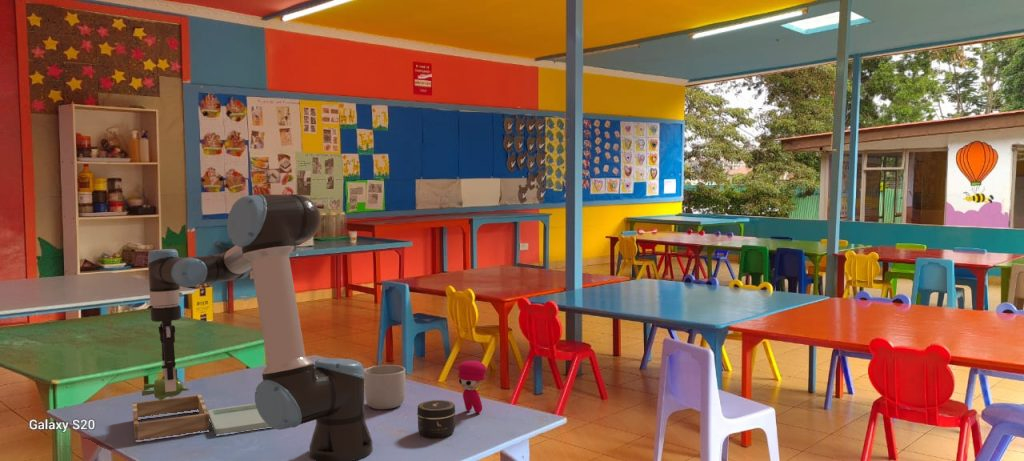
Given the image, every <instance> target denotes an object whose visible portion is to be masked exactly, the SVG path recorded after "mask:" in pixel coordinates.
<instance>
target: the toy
mask: <svg viewBox="0 0 1024 461" xmlns="http://www.w3.org/2000/svg"><path fill="white" fill-rule="evenodd" d="M457 370H458V375H457V377H458V378H459V379H458V383H459V384H460V385H461V387H462V388H463V389H465V390H463V392H462V398H463V404H464V407H465V409H466V410H465V411H468V412H470V411H471V410H472V409H473V410H474V413H476V414H480V413H481V412H482V411H483V403H482V400H481V396H480V394H479V391H478V390H477V389H480V388H479V387H480V386H481V384H482V381H483V380H485V379H486V373H487V372H488V371H487V370H488V369H487V366H486V365H485V364H484V363H482V362H480V361H479V360H471V359H470V360H465V361H463V362H461V363H459V365H458V366H457Z"/></svg>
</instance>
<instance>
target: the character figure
mask: <svg viewBox="0 0 1024 461" xmlns="http://www.w3.org/2000/svg"><path fill="white" fill-rule="evenodd" d="M149 389H153V390H149ZM185 391H187V392H188V391H190V389H189V388H187V387H186V386H184V383H183V382H182V381H181V380H180V379H179V377H178V376H176V391H171V392H165V376H163V375H162V377H161V378H160V379H156V380H154V382H153V383H145V384H144V385H143V389H142V390H141V396H142V397H143V396H150V395H154V398H155V399H156V400H159V401H161V400H162V399H167V398H173V397H177V396H178V395H180V394H181V393H182V392H185Z"/></svg>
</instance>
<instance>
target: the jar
mask: <svg viewBox="0 0 1024 461" xmlns="http://www.w3.org/2000/svg"><path fill="white" fill-rule="evenodd" d="M416 412H417V413H416V415H417V429H418V432H419V434H420V436H422V437H423V438H427V439H443V438H448V437H450V436H451V435H453V433H454V432H455V428H456V405H455V403H454V402H451V401H449V400H443V399H438V400H437V399H434V400H427V401H424V402H421V403H419V404H418V405H417V411H416Z"/></svg>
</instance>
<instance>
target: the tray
mask: <svg viewBox="0 0 1024 461" xmlns="http://www.w3.org/2000/svg"><path fill="white" fill-rule="evenodd" d="M207 410H208V412H209V419H210V421H211V424H212V426H213V429H214V431H213V433H214V432H215V433H214V435H215V434H216V435H217V434H224V433H231V432H241V431H246V430H253V429H259V428H266V427H270V426H269V425H268V424H267V423H266V422H265V421H264V420H263V419H262V418H261V416H260V414H259V412H258V410H257V407H256V404H255V402H254V403H249V404H248V403H247V404H241V405H240V404H239V405H234V406H227V407H225V406H224V407H218V408H213V409H207ZM210 421H209V422H210ZM211 424H210V425H211ZM212 426H211V427H212ZM213 429H212V430H213Z"/></svg>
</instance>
